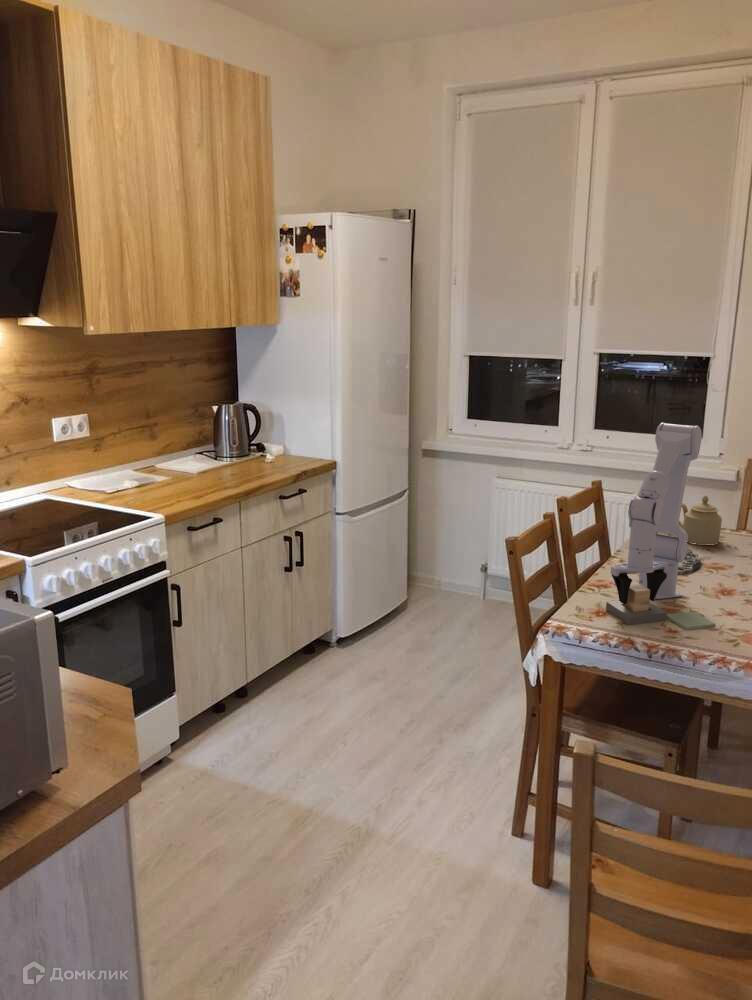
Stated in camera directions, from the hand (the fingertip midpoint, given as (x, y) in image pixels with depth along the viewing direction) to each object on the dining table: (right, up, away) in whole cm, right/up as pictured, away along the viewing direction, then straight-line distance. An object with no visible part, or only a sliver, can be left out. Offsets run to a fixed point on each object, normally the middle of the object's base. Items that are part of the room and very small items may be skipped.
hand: (636, 601), depth 187 cm
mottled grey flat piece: (+28, +6, +42) cm, 50 cm away
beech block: (0, -4, +1) cm, 4 cm away
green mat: (+12, -4, -3) cm, 13 cm away
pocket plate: (0, -3, +1) cm, 4 cm away
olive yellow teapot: (+39, +11, +62) cm, 74 cm away
